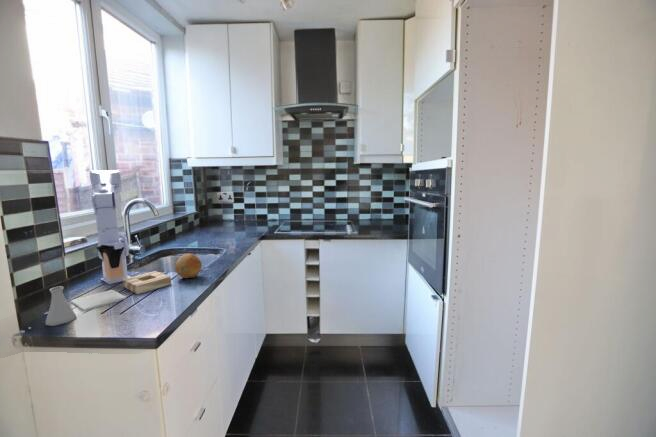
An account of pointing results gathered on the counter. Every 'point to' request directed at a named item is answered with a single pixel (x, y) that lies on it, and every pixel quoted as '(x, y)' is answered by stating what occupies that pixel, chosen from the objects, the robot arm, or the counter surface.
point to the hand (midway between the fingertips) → (112, 266)
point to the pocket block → (146, 282)
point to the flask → (59, 308)
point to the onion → (188, 266)
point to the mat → (98, 300)
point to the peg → (112, 269)
